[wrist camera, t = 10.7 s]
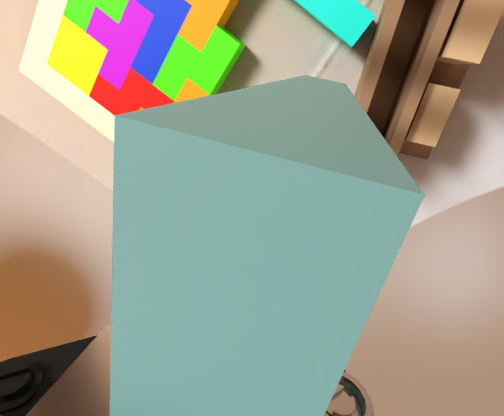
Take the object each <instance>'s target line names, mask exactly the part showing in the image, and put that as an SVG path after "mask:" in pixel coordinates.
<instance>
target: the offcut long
mask: <svg viewBox="0 0 504 416" xmlns="http://www.w3.org/2000/svg"><path fill="white" fill-rule="evenodd" d="M503 11H504V0H460V2H459V4H458V7H457V9H456V12H455V14H454V17H453V19H452V22H451V24H450V27H449V29H448V32H447V34H446V37H445V39H444V42H443V44H442V47H441V49H440V52H439V54H438V57H437V59H436V61H439V62H444V63H449V64H454V65H458V64H480V62H481V60H482V58H483V55H484V53H485V51H486V49H487V47H488V44H489V42H490V40H491V38H492V36H493V33H494V31H495V29H496V27H497V25H498V22H499V20H500V18H501V16H502V14H503Z"/></svg>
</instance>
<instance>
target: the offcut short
mask: <svg viewBox="0 0 504 416" xmlns="http://www.w3.org/2000/svg"><path fill="white" fill-rule="evenodd" d="M460 91H461V90H460V89H455V88H451V87H446V86H441V85H437V84H432V83H427V84H426V87H425V89H424V92H423V94H422V97H421V99H420V102H419V104H418V107H417V109H416V112H415V114H414V117H413V119H412V122H411V124H410V127H409V129H408V132H407V134H406V137H405V140H407V141H411V142H415V143H419V144H423V145H428V146H432V147H436V145H437V142H438V140H439V138H440V136H441V133H442V131H443V129H444V127H445V124H446V122H447V120H448V118H449V115H450V113H451V111H452V109H453V106H454V104H455V102H456V100H457V97H458V95H459V93H460Z"/></svg>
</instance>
